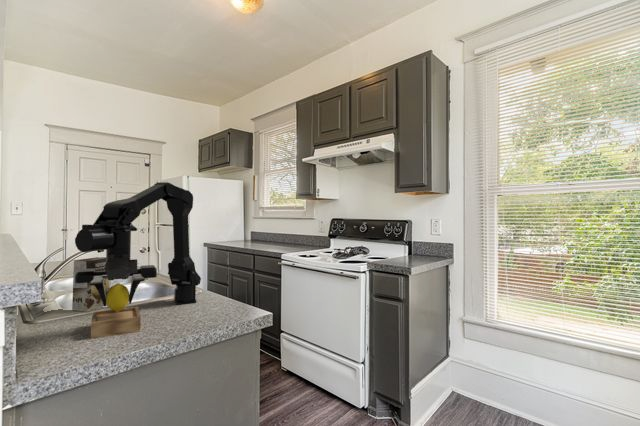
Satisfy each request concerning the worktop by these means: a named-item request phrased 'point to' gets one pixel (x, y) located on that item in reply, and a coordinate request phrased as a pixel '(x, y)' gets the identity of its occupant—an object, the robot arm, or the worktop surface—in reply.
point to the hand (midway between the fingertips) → (117, 304)
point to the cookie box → (88, 286)
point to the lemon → (117, 297)
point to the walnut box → (115, 322)
